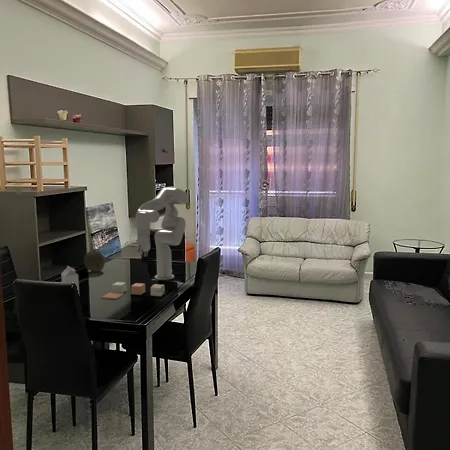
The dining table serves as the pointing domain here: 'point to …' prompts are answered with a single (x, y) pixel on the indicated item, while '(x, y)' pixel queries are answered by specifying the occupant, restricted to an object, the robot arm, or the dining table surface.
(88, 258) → the cantaloupe
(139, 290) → the terracotta block
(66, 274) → the milk carton
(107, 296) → the colour tile
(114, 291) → the sage block
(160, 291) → the cream block
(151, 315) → the dining table surface
